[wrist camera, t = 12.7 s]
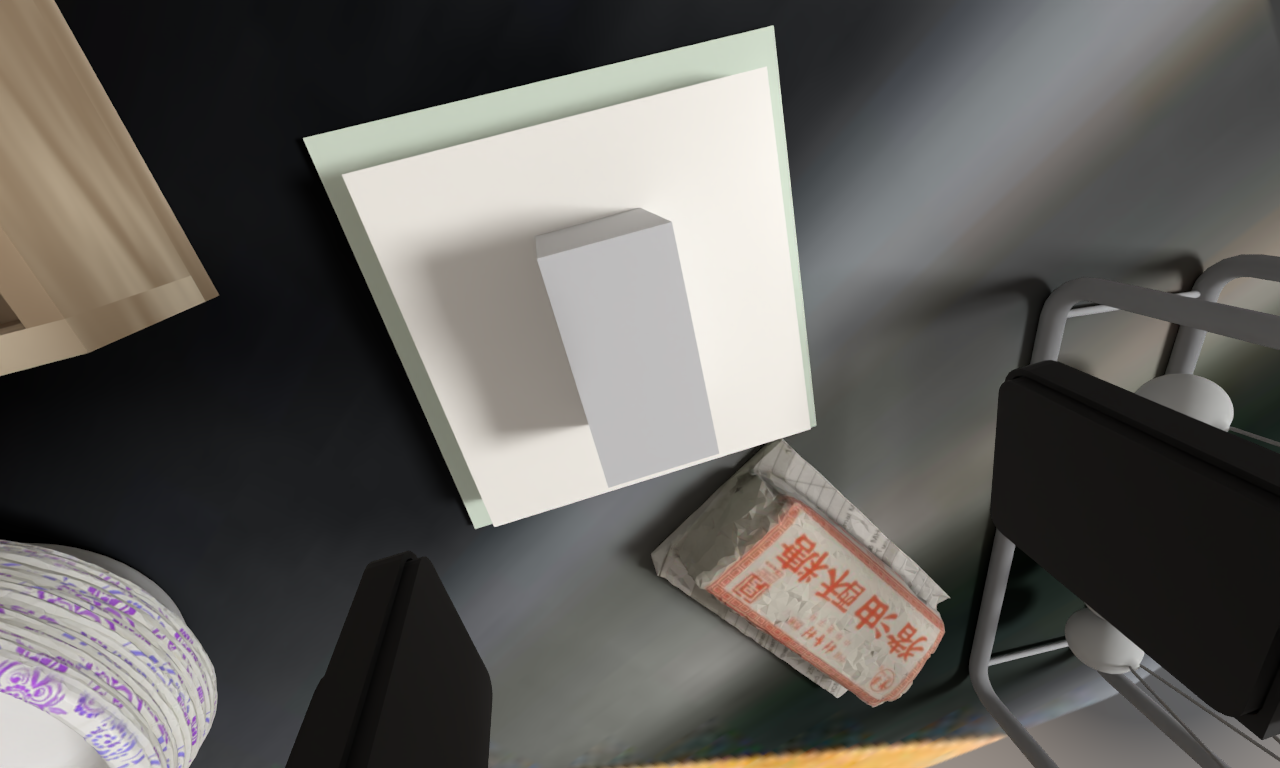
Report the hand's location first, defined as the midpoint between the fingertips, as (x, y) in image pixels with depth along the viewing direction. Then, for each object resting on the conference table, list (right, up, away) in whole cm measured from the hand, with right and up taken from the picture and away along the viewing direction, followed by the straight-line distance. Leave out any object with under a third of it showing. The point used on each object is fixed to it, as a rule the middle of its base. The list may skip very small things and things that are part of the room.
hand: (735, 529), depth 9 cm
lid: (-3, +6, +15) cm, 17 cm away
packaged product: (+8, -9, +25) cm, 28 cm away
